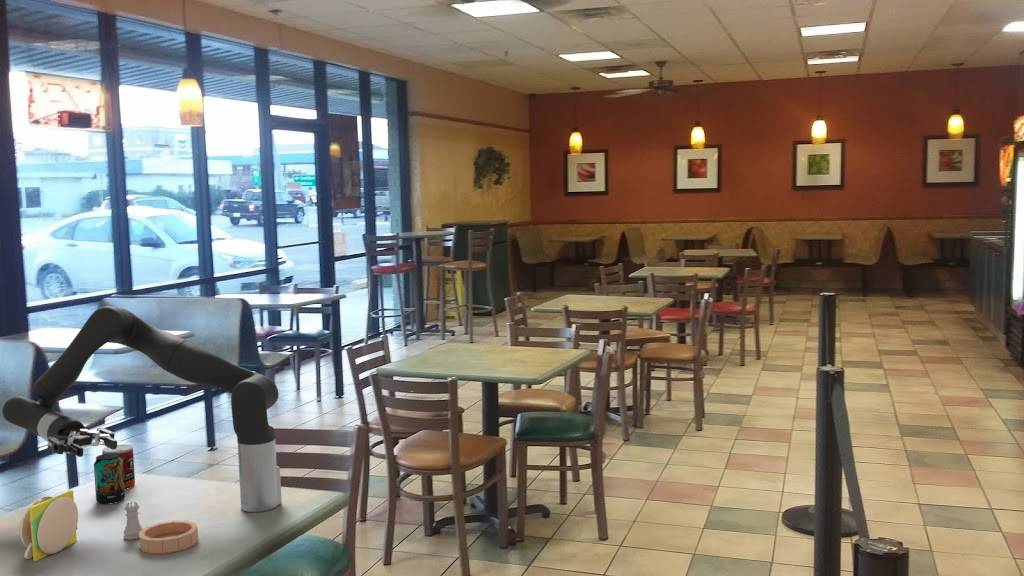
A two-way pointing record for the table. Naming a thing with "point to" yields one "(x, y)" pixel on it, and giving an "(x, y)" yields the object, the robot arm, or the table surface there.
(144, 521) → the table surface
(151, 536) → the dish
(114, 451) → the canned food
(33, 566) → the table surface
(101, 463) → the beverage can
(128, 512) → the rook chess piece
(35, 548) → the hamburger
